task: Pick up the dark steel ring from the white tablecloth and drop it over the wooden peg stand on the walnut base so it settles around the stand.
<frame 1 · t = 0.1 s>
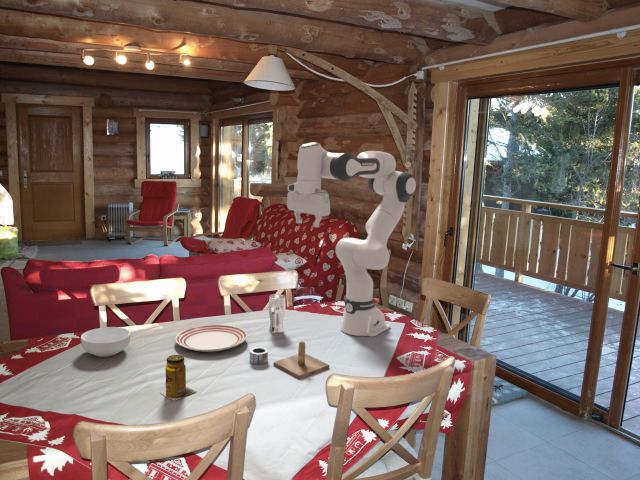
hand: (307, 225, 200), 48 cm above the table, fingers open, 8 cm apart
wooden peg stand: (301, 366, 191), on the table
condiment: (178, 393, 169), on the table
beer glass: (276, 331, 225), on the table
ring: (258, 361, 195), on the table
cereal bowl: (106, 353, 197), on the table
dinner plate: (211, 343, 210), on the table
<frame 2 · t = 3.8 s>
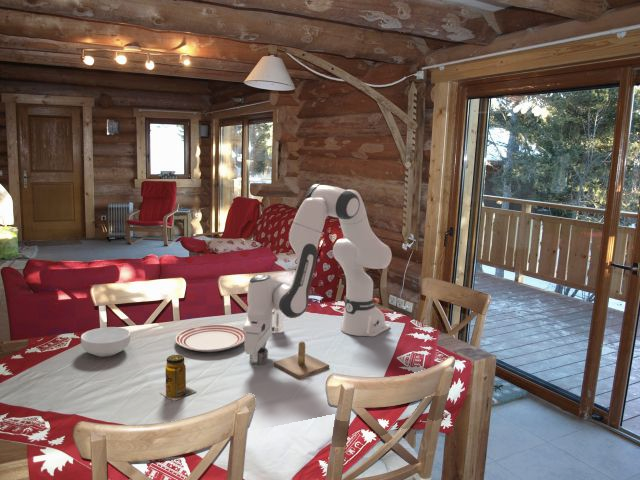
hand: (258, 356, 194), 2 cm above the table, fingers closed on ring, 6 cm apart
ring: (258, 361, 195), on the table, touching gripper
everything else where it was.
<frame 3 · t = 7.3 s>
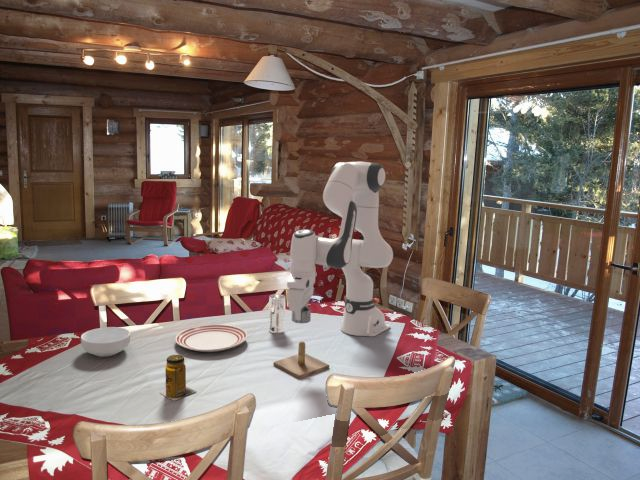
hand: (301, 315, 188), 19 cm above the table, fingers closed on ring, 6 cm apart
ring: (301, 320, 188), point 17 cm above the table, touching gripper
everything else where it was.
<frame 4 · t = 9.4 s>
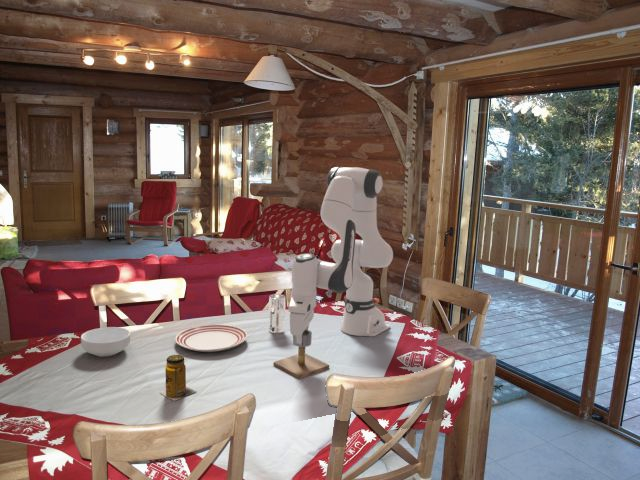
hand: (302, 338, 189), 10 cm above the table, fingers closed on ring, 6 cm apart
ring: (301, 343, 190), point 9 cm above the table, touching gripper
everything else where it was.
when the fingers open (7 cm above the table, at t = 11.1 s): ring drops 5 cm, resting on wooden peg stand.
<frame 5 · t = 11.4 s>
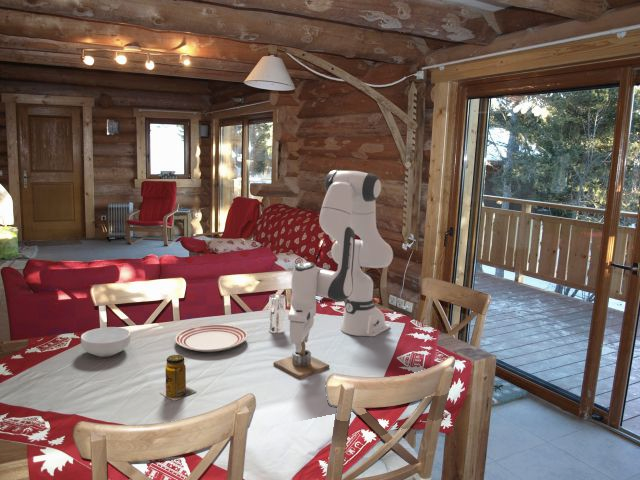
hand: (302, 346, 190), 7 cm above the table, fingers open, 8 cm apart
ring: (301, 363, 191), point 1 cm above the table, touching wooden peg stand
everything else where it was.
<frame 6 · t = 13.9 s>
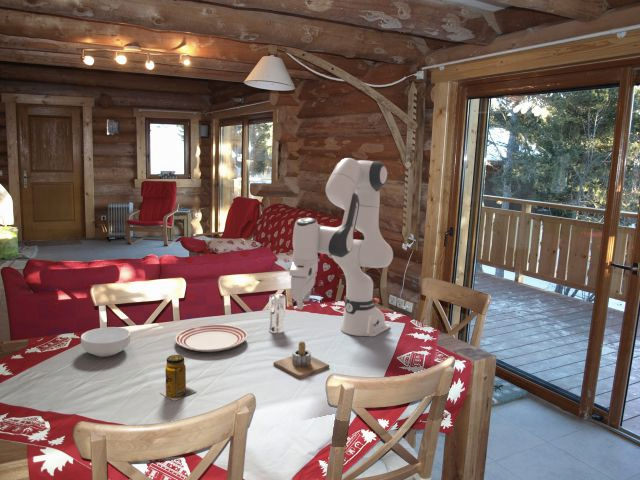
hand: (303, 304, 187), 23 cm above the table, fingers open, 8 cm apart
nothing on the table moved.
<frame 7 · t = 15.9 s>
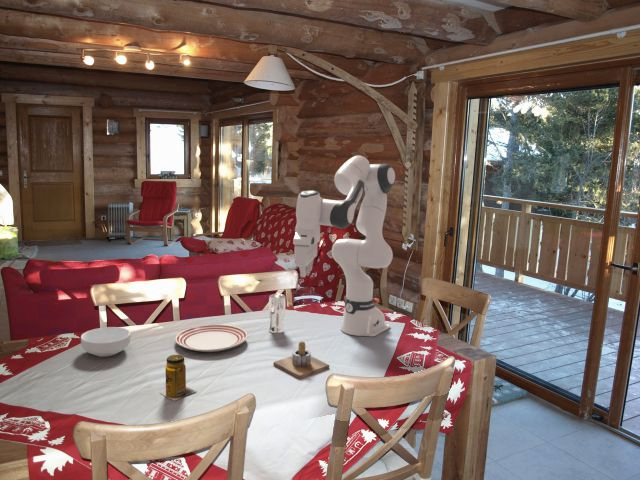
hand: (306, 273, 196), 31 cm above the table, fingers open, 8 cm apart
nothing on the table moved.
at the end: ring 0.0 cm off-centre on the wooden peg stand, point 1.2 cm above the wooden peg stand's base; the gripper is holding nothing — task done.
